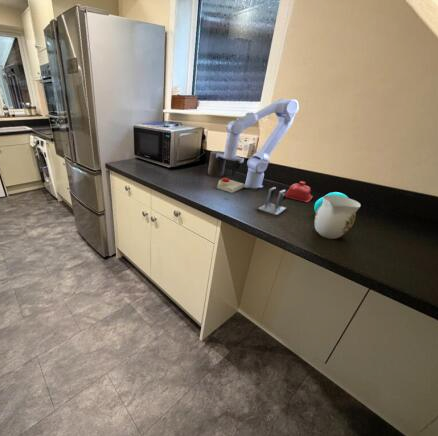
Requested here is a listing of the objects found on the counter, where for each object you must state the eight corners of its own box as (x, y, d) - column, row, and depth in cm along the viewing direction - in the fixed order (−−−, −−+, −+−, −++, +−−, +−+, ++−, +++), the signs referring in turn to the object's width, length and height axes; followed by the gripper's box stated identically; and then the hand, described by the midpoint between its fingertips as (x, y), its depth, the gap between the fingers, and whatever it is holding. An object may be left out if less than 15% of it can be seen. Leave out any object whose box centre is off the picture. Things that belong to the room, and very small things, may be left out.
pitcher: (353, 231, 87) (371, 197, 80) (336, 248, 77) (354, 211, 71) (320, 220, 95) (334, 188, 88) (301, 234, 85) (314, 199, 78)
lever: (277, 199, 107) (280, 193, 107) (284, 201, 105) (288, 195, 105) (270, 195, 99) (273, 188, 98) (277, 197, 97) (281, 190, 96)
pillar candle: (217, 178, 141) (221, 153, 134) (204, 174, 148) (207, 150, 141) (226, 175, 146) (230, 150, 139) (213, 171, 153) (217, 148, 146)
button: (224, 180, 126) (224, 177, 126) (229, 181, 124) (230, 178, 123) (220, 181, 124) (220, 178, 124) (226, 183, 122) (226, 180, 121)
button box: (227, 182, 133) (229, 176, 131) (243, 187, 127) (245, 180, 125) (215, 187, 126) (216, 180, 124) (231, 193, 120) (232, 185, 118)
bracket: (267, 204, 108) (273, 184, 103) (285, 210, 102) (292, 189, 98) (257, 210, 102) (262, 189, 97) (275, 217, 97) (282, 195, 92)
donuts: (309, 215, 98) (317, 193, 93) (318, 209, 104) (327, 188, 99) (337, 225, 91) (347, 202, 86) (345, 218, 97) (356, 195, 92)
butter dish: (312, 197, 115) (319, 181, 111) (307, 204, 108) (313, 187, 104) (287, 191, 122) (292, 176, 118) (280, 198, 115) (285, 181, 111)
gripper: (214, 145, 118) (210, 171, 124) (240, 150, 108) (235, 178, 115) (222, 144, 122) (218, 169, 128) (248, 148, 112) (242, 175, 119)
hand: (226, 173), depth 122 cm, fingers open, 7 cm apart
